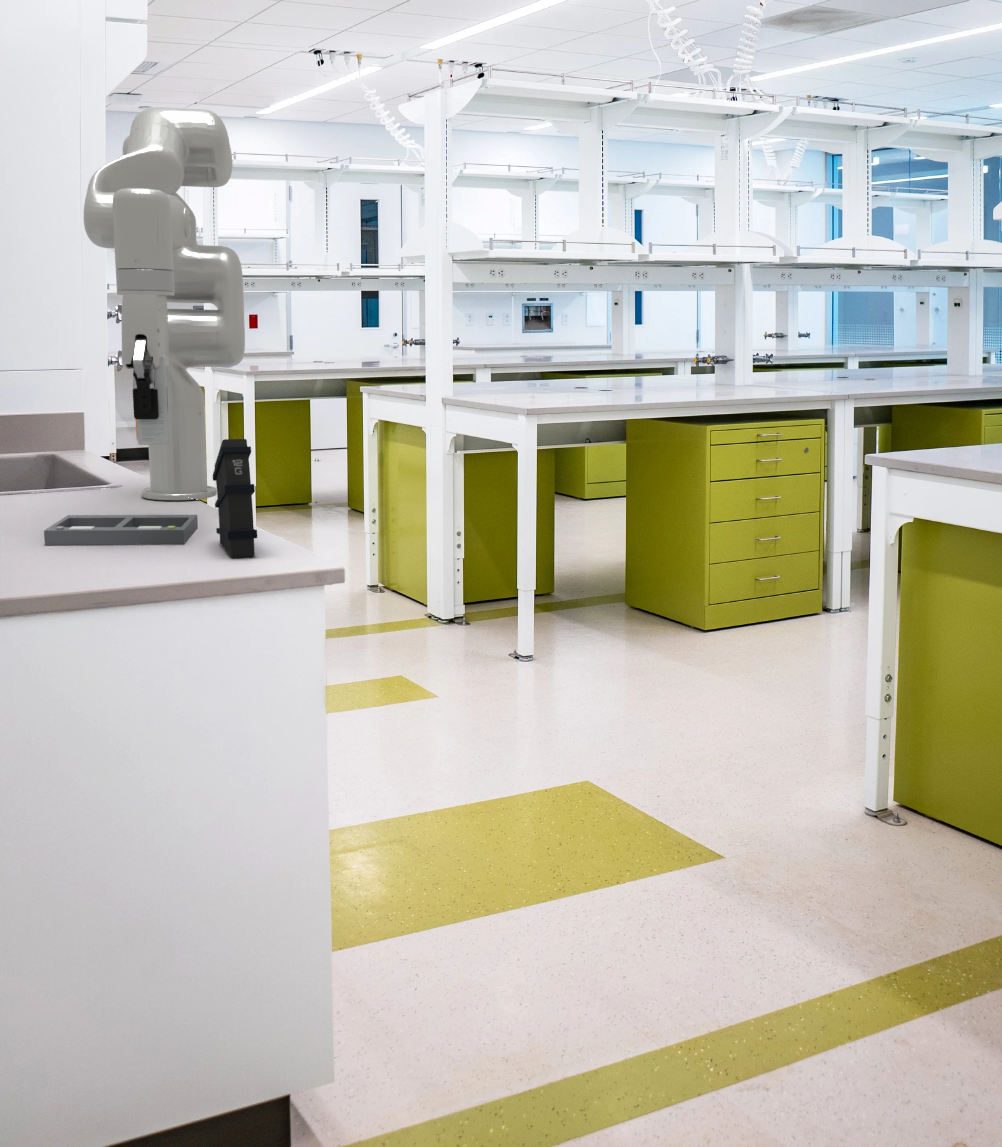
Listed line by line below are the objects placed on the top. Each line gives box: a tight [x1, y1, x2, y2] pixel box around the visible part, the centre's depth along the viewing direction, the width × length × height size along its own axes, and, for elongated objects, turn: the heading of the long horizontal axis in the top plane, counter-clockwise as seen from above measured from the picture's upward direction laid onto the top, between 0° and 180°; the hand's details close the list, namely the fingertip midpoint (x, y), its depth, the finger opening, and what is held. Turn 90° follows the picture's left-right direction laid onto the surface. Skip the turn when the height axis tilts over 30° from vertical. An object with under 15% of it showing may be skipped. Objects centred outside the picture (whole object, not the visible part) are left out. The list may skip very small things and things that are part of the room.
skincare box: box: [133, 356, 169, 446], centre depth 164 cm, size 6×4×12 cm
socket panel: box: [43, 514, 199, 546], centre depth 168 cm, size 13×18×2 cm
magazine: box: [212, 438, 258, 559], centre depth 158 cm, size 4×13×15 cm, turn 21°
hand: (151, 415), depth 165 cm, fingers closed on skincare box, 6 cm apart
